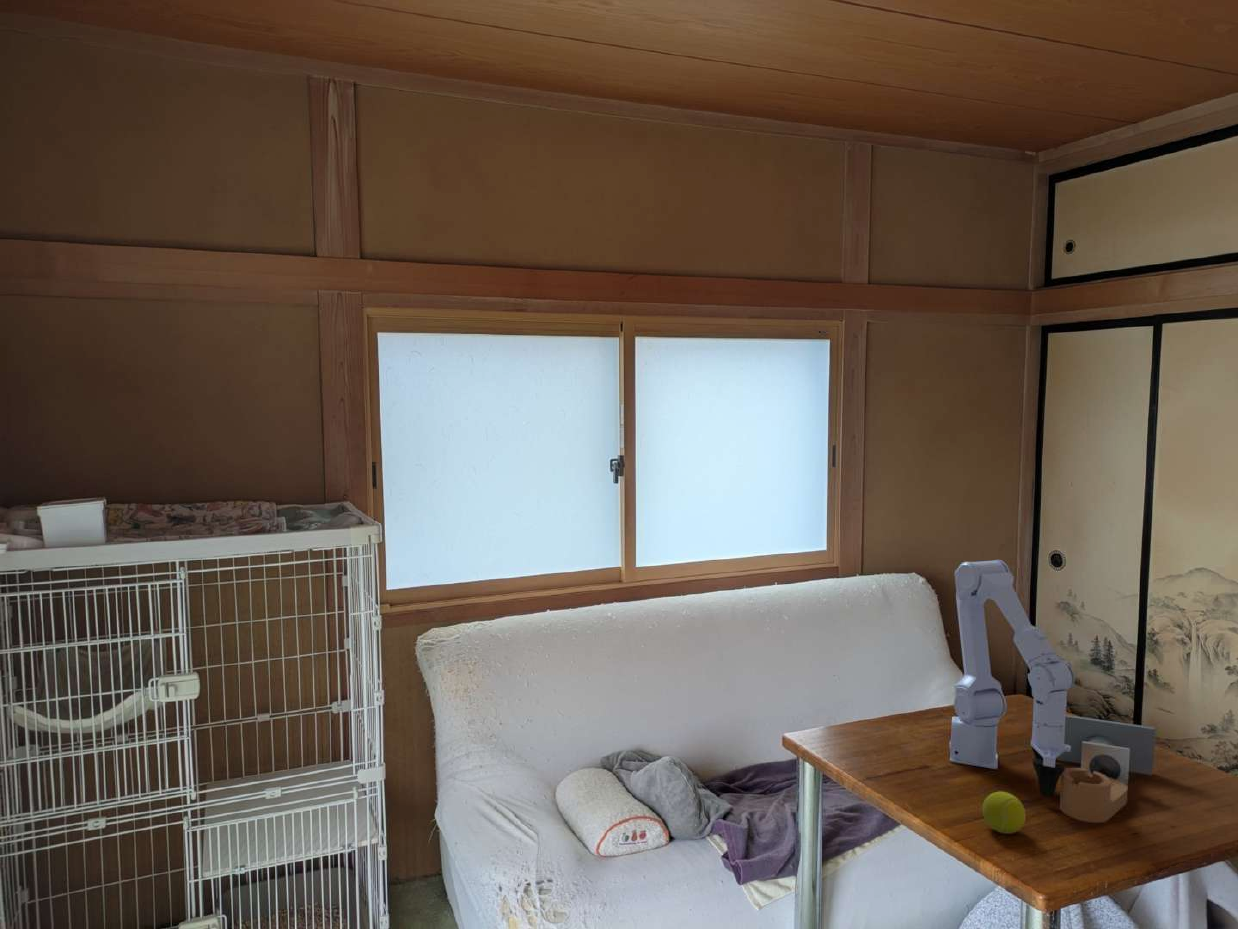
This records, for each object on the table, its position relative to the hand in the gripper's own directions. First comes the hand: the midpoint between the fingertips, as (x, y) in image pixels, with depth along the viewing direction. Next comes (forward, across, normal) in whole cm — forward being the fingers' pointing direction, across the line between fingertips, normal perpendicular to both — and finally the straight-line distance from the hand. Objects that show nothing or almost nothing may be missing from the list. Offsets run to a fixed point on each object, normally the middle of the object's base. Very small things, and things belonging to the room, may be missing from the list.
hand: (1045, 788), depth 169 cm
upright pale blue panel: (+2, +16, -11) cm, 20 cm away
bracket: (+2, 0, -8) cm, 9 cm away
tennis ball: (+2, -19, +8) cm, 21 cm away
